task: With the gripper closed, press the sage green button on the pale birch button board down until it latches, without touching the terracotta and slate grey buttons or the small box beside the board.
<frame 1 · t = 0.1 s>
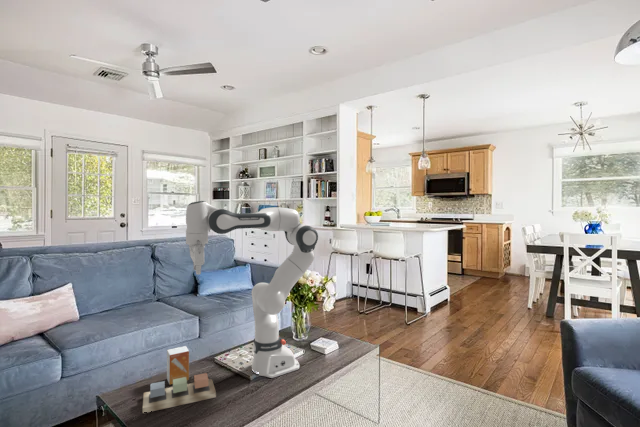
hand: (197, 272, 146), 48 cm above the table, tool pointing down, fingers open, 8 cm apart
sage button: (179, 384, 137), point 5 cm above the table, slide at 0.0 cm
slate button: (157, 389, 134), point 5 cm above the table, slide at 0.0 cm
terracotta button: (201, 380, 140), point 5 cm above the table, slide at 0.0 cm
small box: (177, 379, 151), on the table
button board: (179, 397, 137), on the table
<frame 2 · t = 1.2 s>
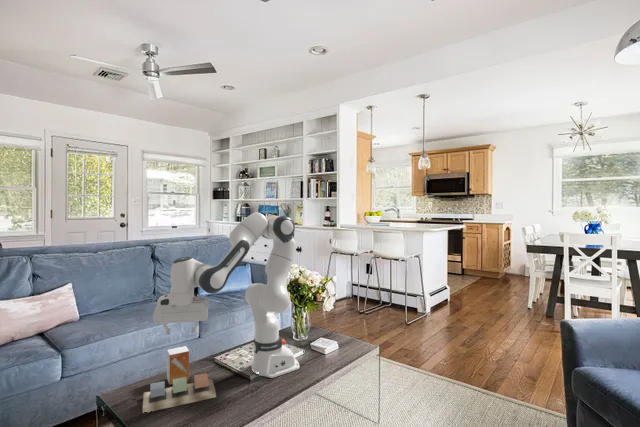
hand: (181, 332, 138), 25 cm above the table, tool pointing down, fingers open, 8 cm apart
nothing on the table moved.
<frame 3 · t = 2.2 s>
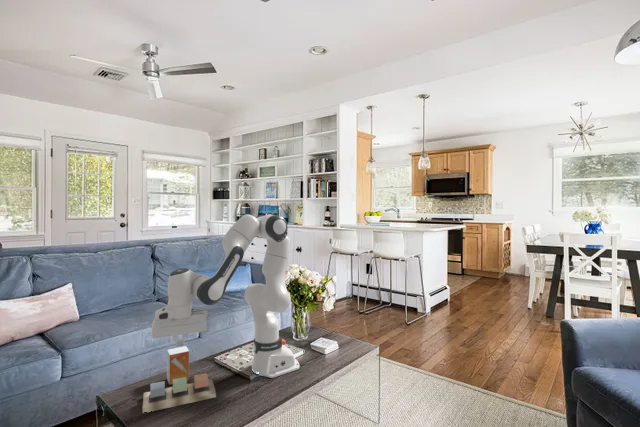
hand: (179, 345, 136), 21 cm above the table, tool pointing down, fingers closed
nothing on the table moved.
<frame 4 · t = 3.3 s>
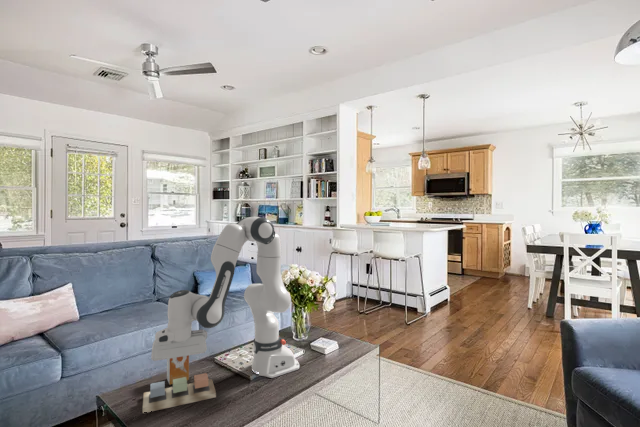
hand: (179, 366, 137), 12 cm above the table, tool pointing down, fingers closed
nothing on the table moved.
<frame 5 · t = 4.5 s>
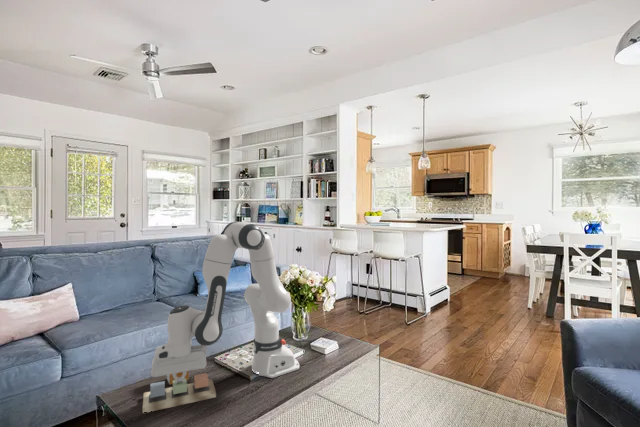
hand: (179, 382, 137), 6 cm above the table, tool pointing down, fingers closed, pressing on sage button
sage button: (179, 386, 137), point 5 cm above the table, slide at 0.5 cm, touching gripper
everything else where it was.
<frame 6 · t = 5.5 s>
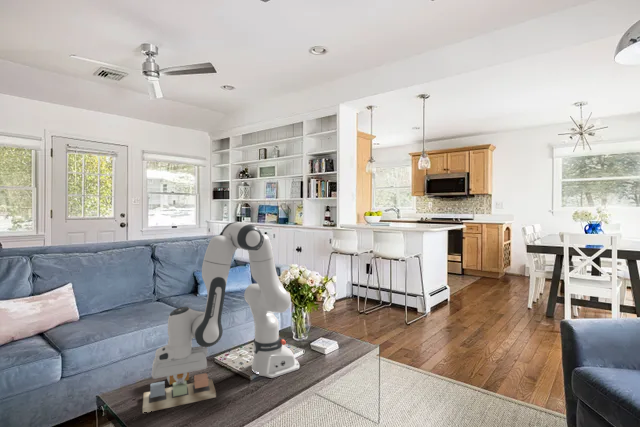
hand: (180, 383, 137), 6 cm above the table, tool pointing down, fingers closed
sage button: (179, 388, 137), point 4 cm above the table, slide at 1.4 cm
everything else where it was.
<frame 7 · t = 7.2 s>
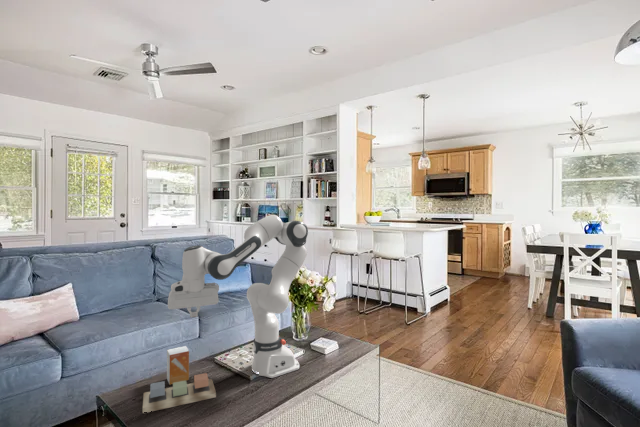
hand: (193, 316, 147), 29 cm above the table, tool pointing down, fingers closed
nothing on the table moved.
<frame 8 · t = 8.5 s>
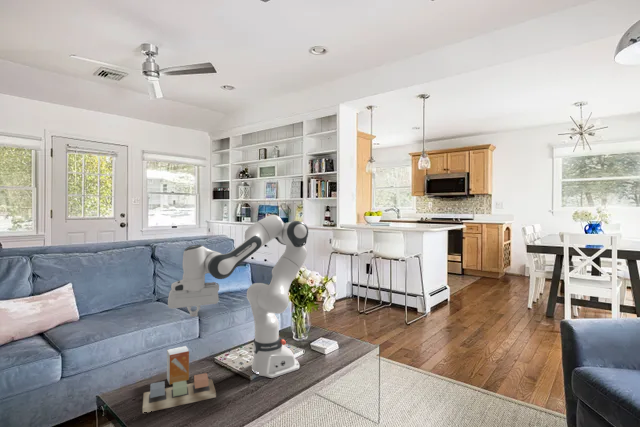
hand: (193, 316, 147), 29 cm above the table, tool pointing down, fingers closed
nothing on the table moved.
at the end: sage button slide at 1.4 cm; terracotta button slide at 0.0 cm; slate button slide at 0.0 cm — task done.
